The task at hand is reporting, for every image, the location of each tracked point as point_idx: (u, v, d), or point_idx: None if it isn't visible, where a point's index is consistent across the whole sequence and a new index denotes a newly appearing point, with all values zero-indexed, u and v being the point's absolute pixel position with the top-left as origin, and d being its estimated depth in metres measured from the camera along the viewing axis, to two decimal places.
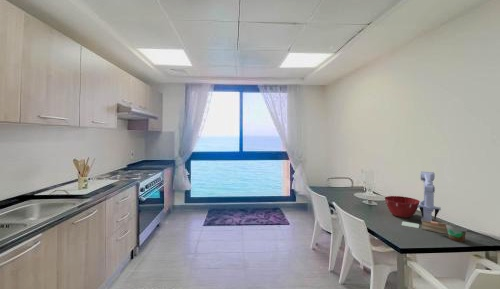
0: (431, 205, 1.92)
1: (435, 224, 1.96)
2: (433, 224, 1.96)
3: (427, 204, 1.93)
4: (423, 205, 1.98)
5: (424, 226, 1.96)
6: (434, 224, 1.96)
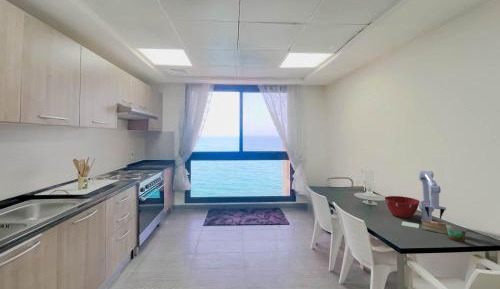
0: (436, 205, 1.95)
1: (435, 224, 1.96)
2: (433, 224, 1.96)
3: (433, 204, 1.96)
4: (428, 205, 2.01)
5: (424, 226, 1.96)
6: (434, 224, 1.96)
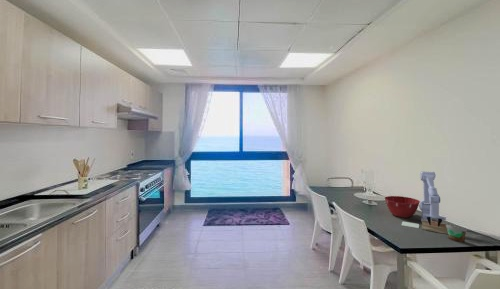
0: (436, 215, 1.95)
1: (435, 224, 1.96)
2: (433, 224, 1.96)
3: (432, 214, 1.96)
4: (428, 215, 2.01)
5: (424, 226, 1.96)
6: (434, 224, 1.96)
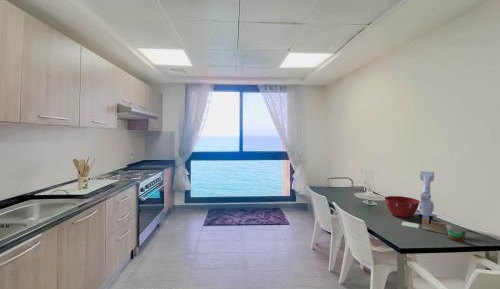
0: (427, 212, 1.98)
1: (426, 221, 1.99)
2: (424, 221, 2.00)
3: (424, 211, 2.00)
4: (420, 212, 2.05)
5: (424, 226, 1.96)
6: (425, 221, 1.99)
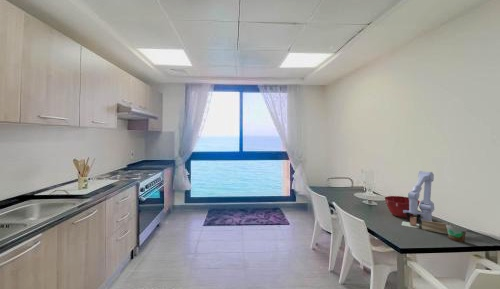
0: (415, 211, 2.03)
1: (414, 219, 2.04)
2: (412, 219, 2.05)
3: (411, 210, 2.04)
4: (408, 210, 2.09)
5: (424, 226, 1.96)
6: (413, 219, 2.04)
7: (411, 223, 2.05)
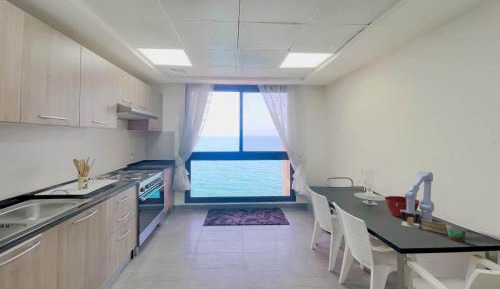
0: (412, 210, 2.04)
1: (411, 220, 2.05)
2: (409, 220, 2.06)
3: (408, 209, 2.06)
4: (405, 210, 2.11)
5: (424, 226, 1.96)
6: (410, 220, 2.05)
7: (408, 223, 2.06)
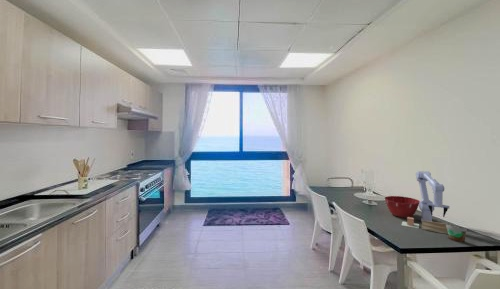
0: (440, 203, 1.97)
1: (411, 220, 2.05)
2: (409, 220, 2.06)
3: (436, 202, 1.98)
4: (432, 204, 2.03)
5: (424, 226, 1.96)
6: (410, 220, 2.05)
7: (408, 223, 2.06)
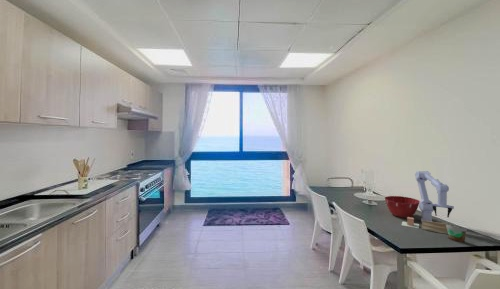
0: (444, 204, 1.96)
1: (411, 220, 2.05)
2: (409, 220, 2.06)
3: (440, 203, 1.97)
4: (436, 204, 2.02)
5: (424, 226, 1.96)
6: (410, 220, 2.05)
7: (408, 223, 2.06)
